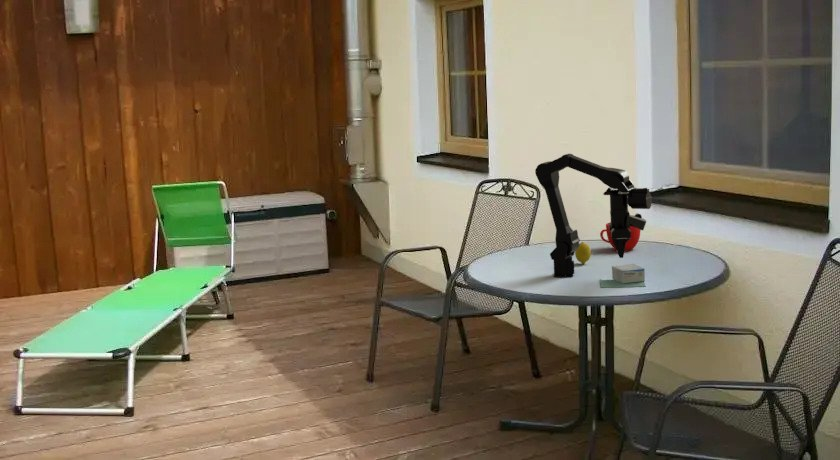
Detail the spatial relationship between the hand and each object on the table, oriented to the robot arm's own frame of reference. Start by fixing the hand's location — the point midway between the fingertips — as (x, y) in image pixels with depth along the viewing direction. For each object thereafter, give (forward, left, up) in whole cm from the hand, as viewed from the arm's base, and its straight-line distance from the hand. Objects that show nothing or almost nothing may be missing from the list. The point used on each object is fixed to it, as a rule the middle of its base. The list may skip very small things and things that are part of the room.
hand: (620, 255), depth 319 cm
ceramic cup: (+2, +49, -8) cm, 50 cm away
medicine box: (+1, +1, -6) cm, 6 cm away
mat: (0, -7, -8) cm, 11 cm away
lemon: (-12, +26, -8) cm, 30 cm away
